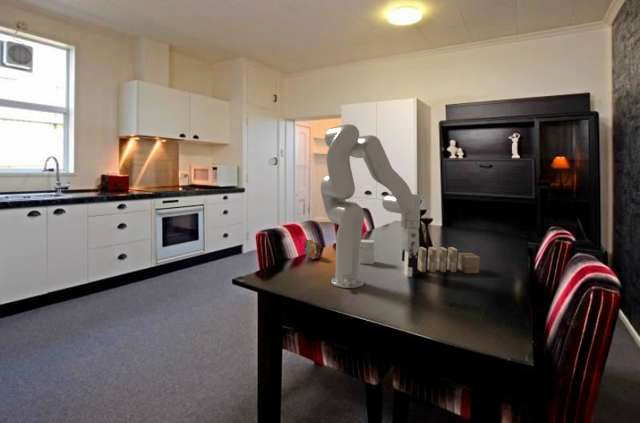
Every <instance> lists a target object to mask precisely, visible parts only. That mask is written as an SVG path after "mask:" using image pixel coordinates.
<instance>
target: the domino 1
mask: <svg viewBox="0 0 640 423" xmlns="http://www.w3.org/2000/svg"><path fill="white" fill-rule="evenodd" d="M411 254H412V253H411ZM408 257H409V252H407V251H406V250H405V261H403V262H404V263H403V264H404V265H403V267H404V268H403V274H404V275H405V276H406V277H409V278H410V277H413V267H408Z"/></svg>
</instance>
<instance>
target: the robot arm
mask: <svg viewBox="0 0 640 423" xmlns="http://www.w3.org/2000/svg"><path fill="white" fill-rule="evenodd" d="M324 142H325V144H326V146H327V147H328V149H327V154H326V166H327V174H326V175H325V176H324V177H323V179H322V180H321V183H320V195H321V198H322V201H323V202H322V203H323V204H324V205H323V206H324V211H325V213H326V217H327V218H328V219H329V221H331V223H333V224H336V225H338V229H337V232H336V237H335V274H334V275H335V276H334V277H332V278H331V281H330V282H331V284H332V286H335V287H338V288H344V289H355V288H359V287H362V286H364V283H365V281H364V279H362V278H361V264H360V259H361V240H362V230H363V226H364V225H363V224H364V220H365V213H364V212H365V211H364V209H363V208H362V207H361V205H360V204H358V203H356V202H353V201H348V200H349V199H351V198H352V197H353V196H354V195H355V191H356V185H355V181H354V180H355V179H354V177H353V173H352V168H351V160H350V159H351V158H356V159H363V161H364V163H365V165H366V168H367V169H368V171H369V174H370V176H371V178H372V179H373V180H375V181H376V182H377V183H378V184H380V185H382V186H383V187H385V188H386V189H387V190H388V191H390V194H387V195H385V196H384V198H383V199H382V200H381V202H382V203H381V205H382V207H383V209H385V211H386V212H389V213H395V214H400V217H401V218H400V228H401V229H402V233H401V248H402V250H401V251H402V252H401V261H402V262H404V261H405V250H406V251H407V252H409V257H408V267H412V268H417V261H418V252H419V247H420V232H419V228H420V227H421V226H420V225H421V224H420V223H421V221H420V220H421V202H422V201H421V196H420V195H419V194H416V193H412V191H411V189H410V186H409V184H408V183H407V182H406V180H404V178H402V176H401V175H400V174H399V173H397V171H395V169H394V168H393V166H392V165H391V162H390V160H389V158H388V156H387V153H386V151H385V149H384V147H383V145H382V142H381V140H380V139H379V138H378V137H377V136H375V135H369V134H368V135H362V136H360V131H359V129H358V127H357V126H355V125H354V124H349V123H347V124H342V125H337V126H333V127H330V128H329V129H328V130H326V132H325V134H324ZM411 253H412V254H411Z"/></svg>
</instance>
